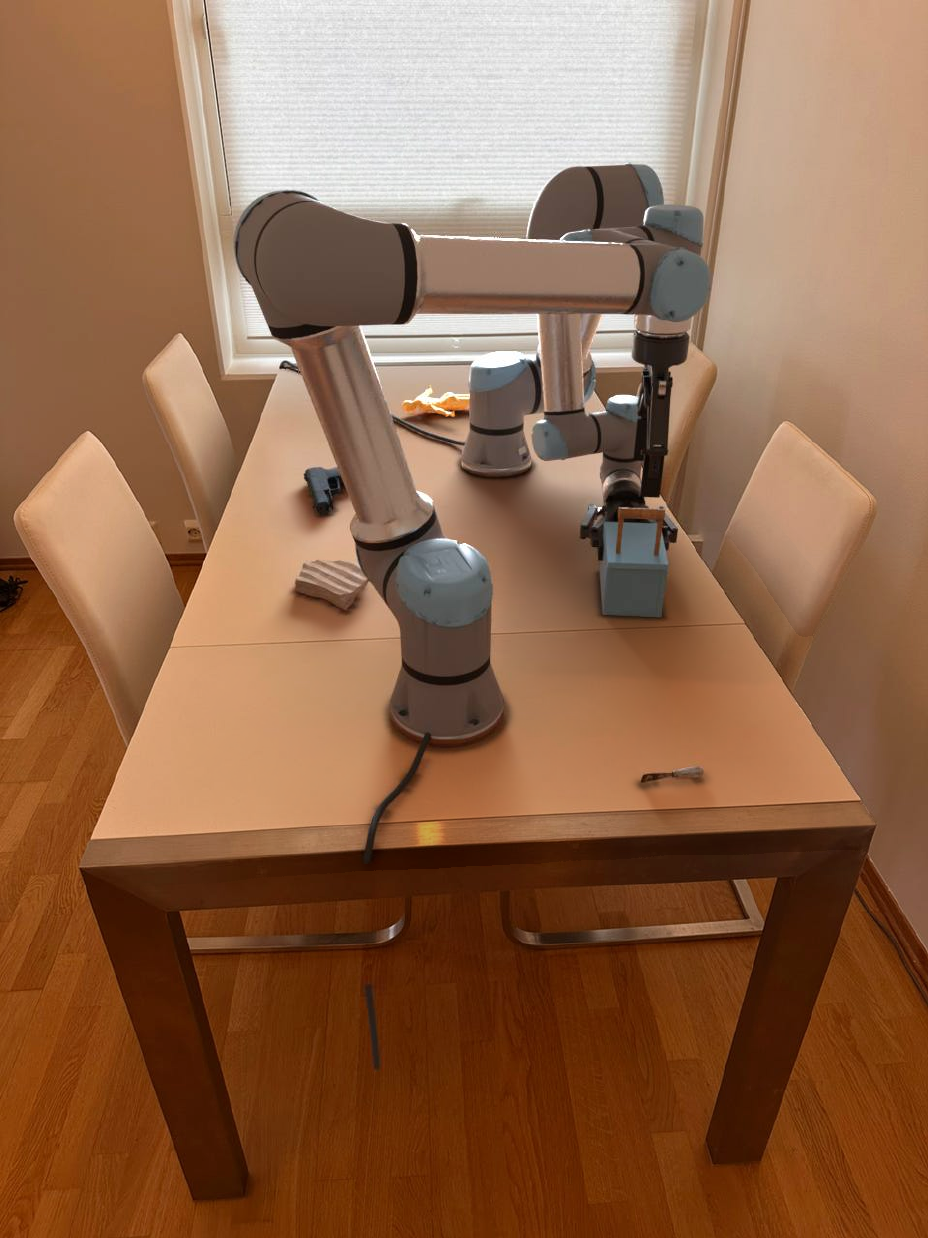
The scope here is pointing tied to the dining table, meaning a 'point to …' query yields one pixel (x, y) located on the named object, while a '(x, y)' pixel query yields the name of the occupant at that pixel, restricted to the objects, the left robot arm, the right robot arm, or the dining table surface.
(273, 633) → the dining table surface
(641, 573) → the chest
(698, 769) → the putty knife
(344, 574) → the stone
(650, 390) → the left robot arm
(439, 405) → the human figure
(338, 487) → the handgun
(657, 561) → the lid
